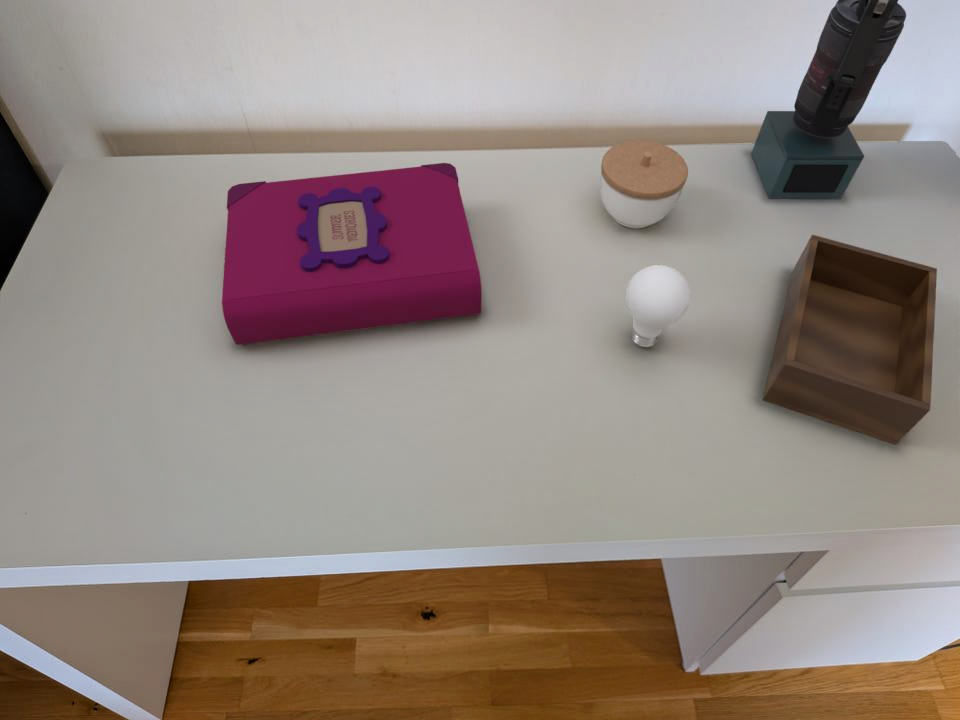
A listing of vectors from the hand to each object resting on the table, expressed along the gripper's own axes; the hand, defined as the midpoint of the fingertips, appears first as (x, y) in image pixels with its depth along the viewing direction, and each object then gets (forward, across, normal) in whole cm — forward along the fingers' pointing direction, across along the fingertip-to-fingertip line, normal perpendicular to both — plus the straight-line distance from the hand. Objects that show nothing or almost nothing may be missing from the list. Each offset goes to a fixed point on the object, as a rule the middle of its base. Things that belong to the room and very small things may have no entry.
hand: (825, 108), depth 88 cm
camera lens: (+2, 0, 0) cm, 2 cm away
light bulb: (+11, +38, -12) cm, 41 cm away
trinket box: (+11, +17, -19) cm, 28 cm away
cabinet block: (+11, 0, 0) cm, 11 cm away
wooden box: (+11, +30, +9) cm, 33 cm away
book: (+11, +42, -47) cm, 64 cm away
